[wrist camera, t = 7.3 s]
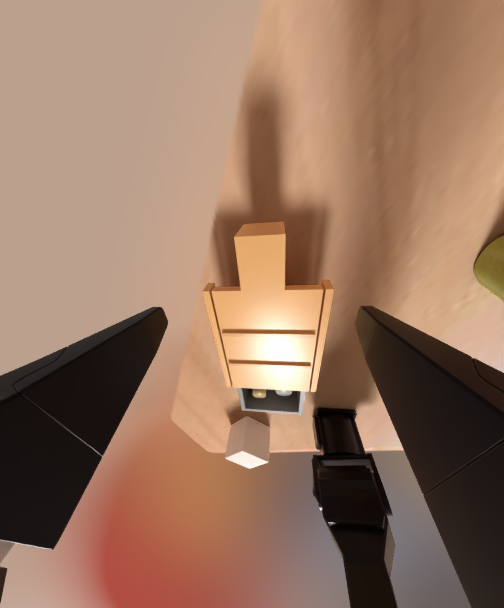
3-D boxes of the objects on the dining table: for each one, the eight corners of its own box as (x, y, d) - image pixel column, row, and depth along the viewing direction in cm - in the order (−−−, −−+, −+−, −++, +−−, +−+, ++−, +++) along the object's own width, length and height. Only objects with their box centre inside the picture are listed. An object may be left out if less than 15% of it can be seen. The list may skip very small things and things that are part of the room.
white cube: (270, 426, 39) (269, 462, 34) (252, 434, 42) (249, 468, 37) (246, 415, 38) (242, 451, 33) (230, 424, 41) (224, 458, 36)
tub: (305, 327, 24) (310, 352, 20) (299, 388, 31) (302, 414, 27) (236, 326, 25) (229, 350, 21) (245, 385, 32) (241, 410, 28)
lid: (338, 217, 13) (358, 229, 10) (313, 379, 24) (319, 411, 20) (195, 227, 15) (172, 240, 12) (229, 375, 25) (222, 405, 22)
